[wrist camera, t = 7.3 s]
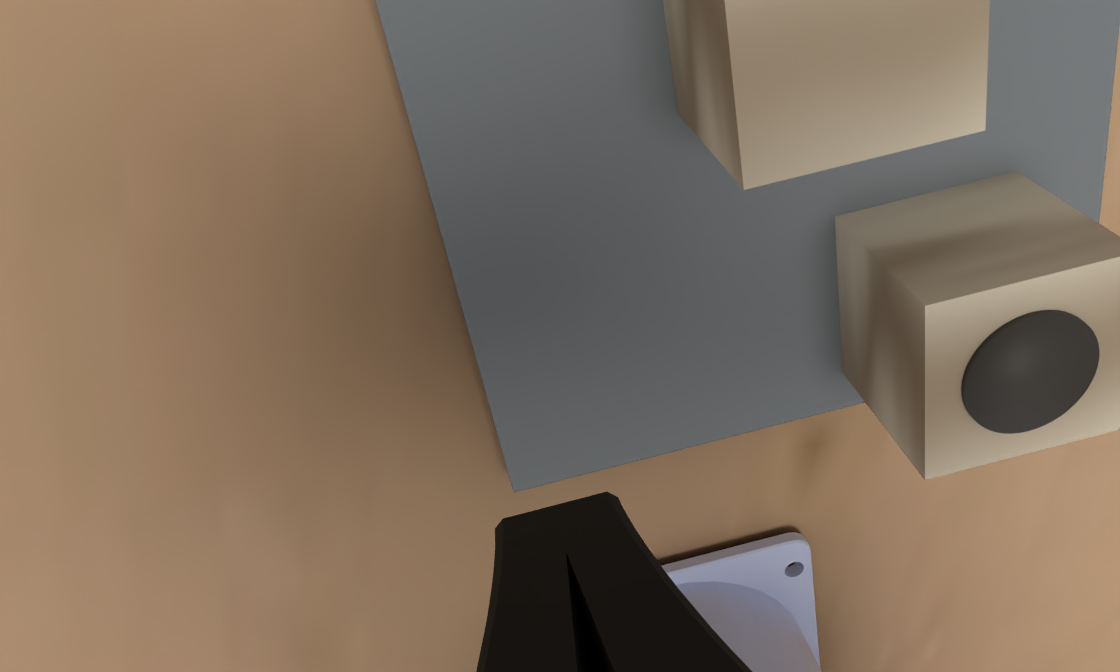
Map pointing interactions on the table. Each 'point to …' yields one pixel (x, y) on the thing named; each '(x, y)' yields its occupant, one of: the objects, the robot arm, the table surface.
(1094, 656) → the table surface
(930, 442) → the dotted block
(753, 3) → the plain block
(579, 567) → the robot arm
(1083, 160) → the tapping mat
